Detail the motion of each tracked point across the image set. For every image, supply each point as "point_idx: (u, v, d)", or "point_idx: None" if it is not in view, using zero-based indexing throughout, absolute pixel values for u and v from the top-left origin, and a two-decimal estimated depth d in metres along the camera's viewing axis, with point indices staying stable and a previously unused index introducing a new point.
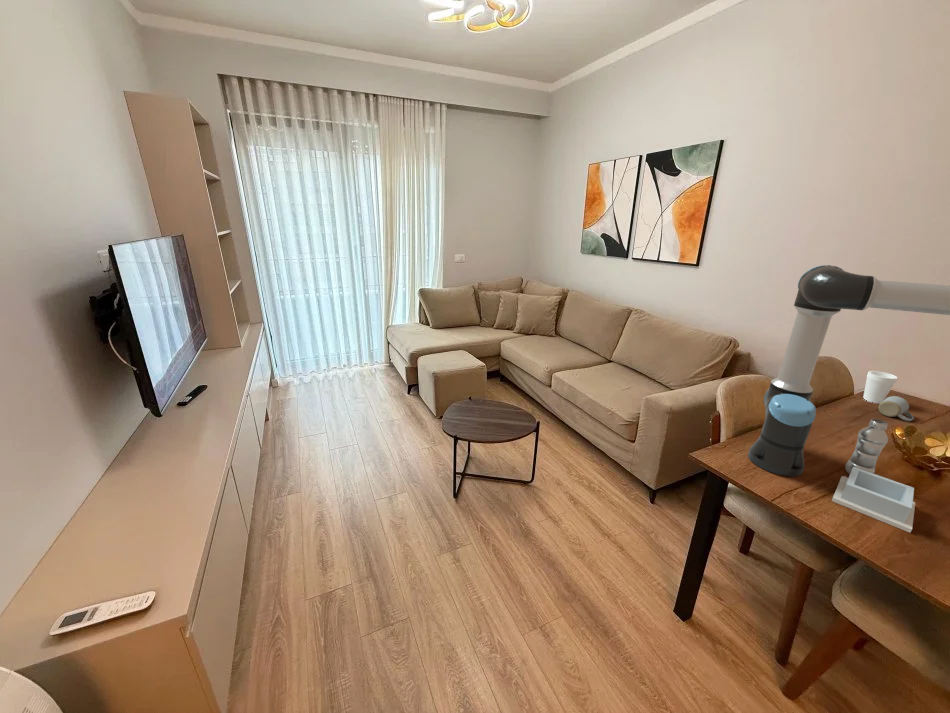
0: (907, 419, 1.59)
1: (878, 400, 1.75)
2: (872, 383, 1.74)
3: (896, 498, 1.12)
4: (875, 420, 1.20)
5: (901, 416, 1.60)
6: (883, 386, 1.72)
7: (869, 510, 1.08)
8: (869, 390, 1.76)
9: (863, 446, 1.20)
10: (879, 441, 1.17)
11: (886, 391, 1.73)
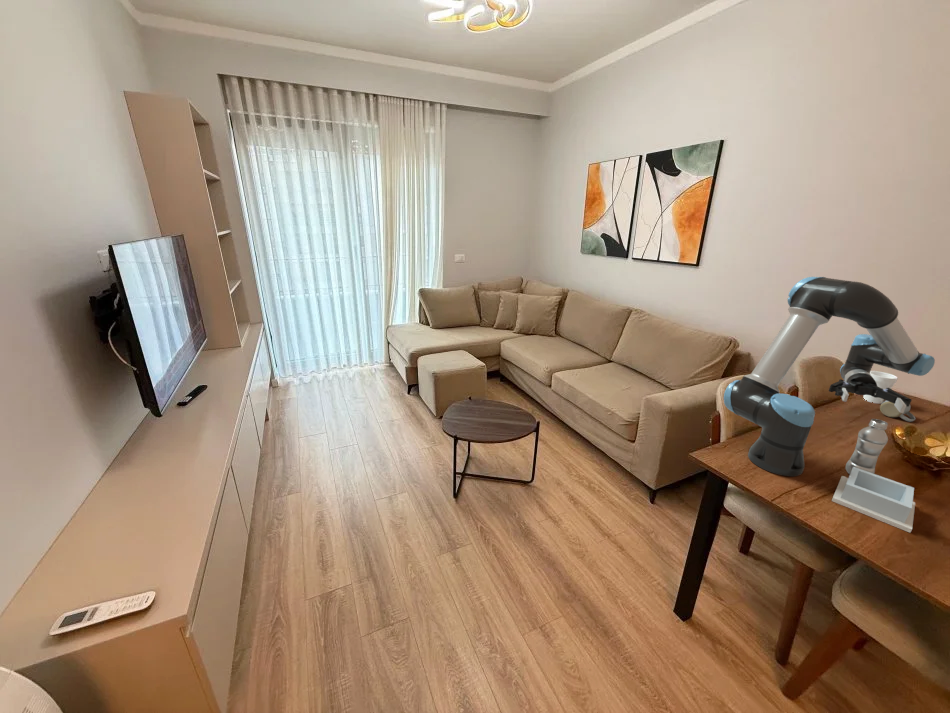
0: (909, 420, 1.59)
1: (878, 400, 1.75)
2: None
3: (896, 498, 1.12)
4: (875, 420, 1.20)
5: (903, 417, 1.60)
6: (883, 386, 1.72)
7: (869, 510, 1.08)
8: None
9: (863, 446, 1.20)
10: (879, 441, 1.17)
11: None
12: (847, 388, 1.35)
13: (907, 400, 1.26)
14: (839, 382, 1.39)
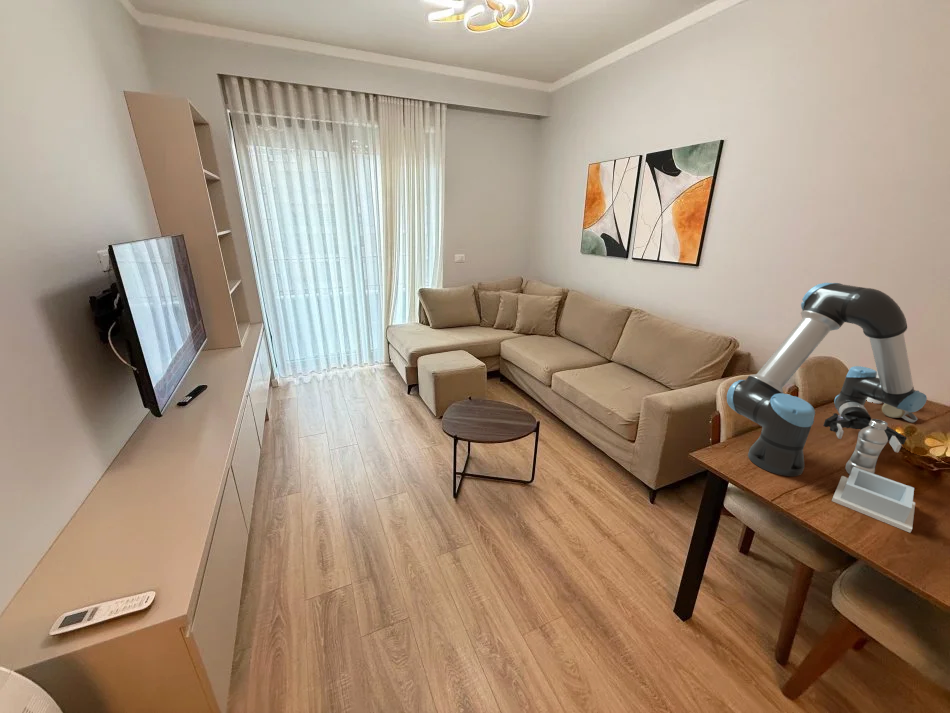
0: (911, 420, 1.58)
1: None
2: None
3: (896, 498, 1.12)
4: (875, 420, 1.20)
5: (905, 417, 1.59)
6: None
7: (869, 510, 1.08)
8: None
9: (863, 446, 1.20)
10: (879, 441, 1.17)
11: None
12: (842, 423, 1.34)
13: (902, 438, 1.25)
14: (834, 416, 1.37)
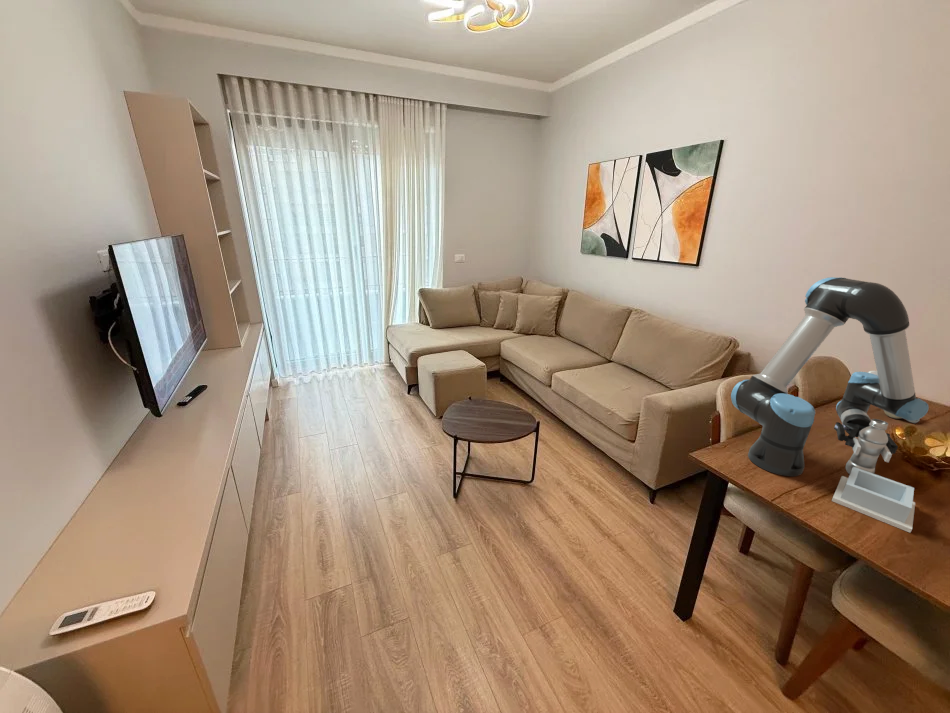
0: (913, 421, 1.58)
1: None
2: None
3: (896, 498, 1.12)
4: (875, 420, 1.20)
5: None
6: None
7: (869, 510, 1.08)
8: None
9: (864, 446, 1.20)
10: (880, 441, 1.17)
11: None
12: (854, 435, 1.26)
13: (893, 447, 1.19)
14: (841, 427, 1.30)
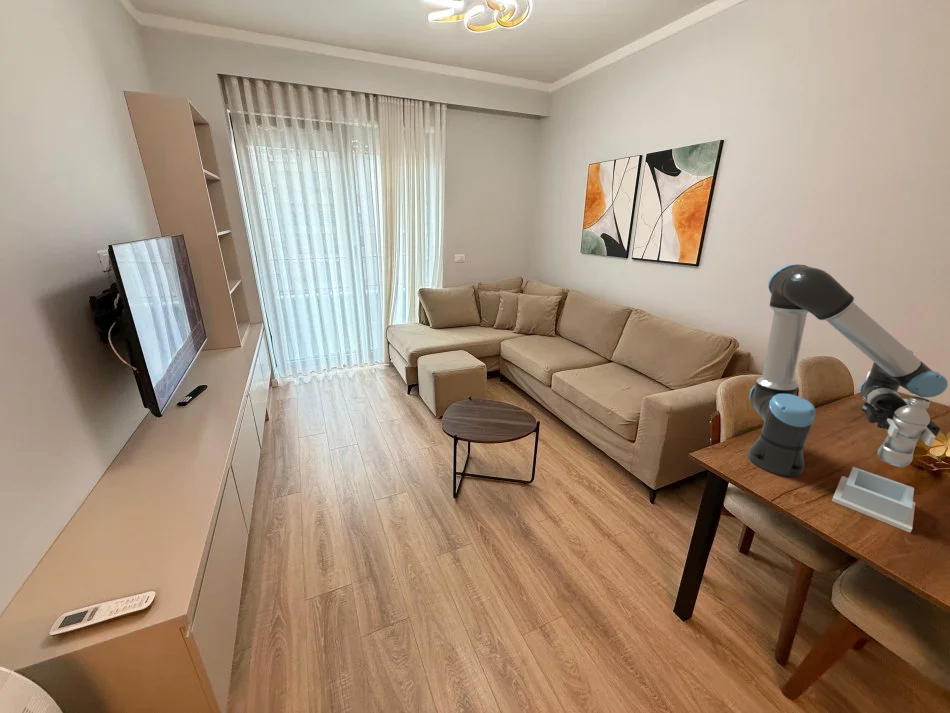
0: None
1: None
2: None
3: (896, 498, 1.12)
4: (915, 398, 1.03)
5: None
6: None
7: (869, 510, 1.08)
8: None
9: (901, 428, 1.03)
10: (921, 421, 1.00)
11: None
12: (887, 417, 1.09)
13: (935, 429, 1.03)
14: (871, 408, 1.13)
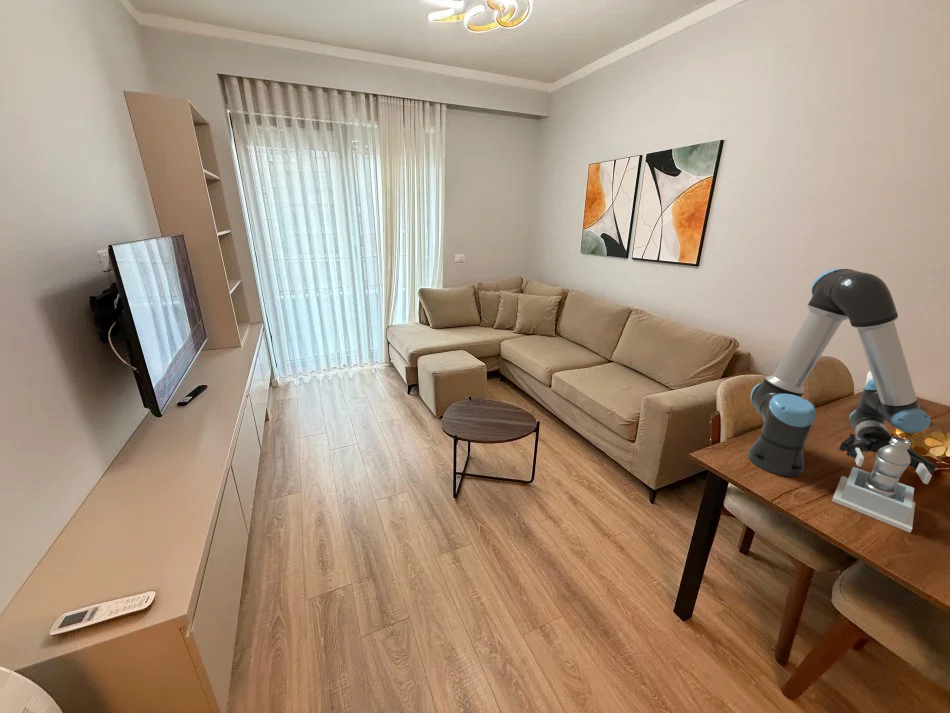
0: None
1: None
2: None
3: (896, 498, 1.12)
4: (896, 438, 1.07)
5: None
6: None
7: (869, 510, 1.08)
8: None
9: (883, 467, 1.08)
10: (902, 462, 1.05)
11: None
12: (861, 447, 1.15)
13: (931, 466, 1.06)
14: (851, 438, 1.18)
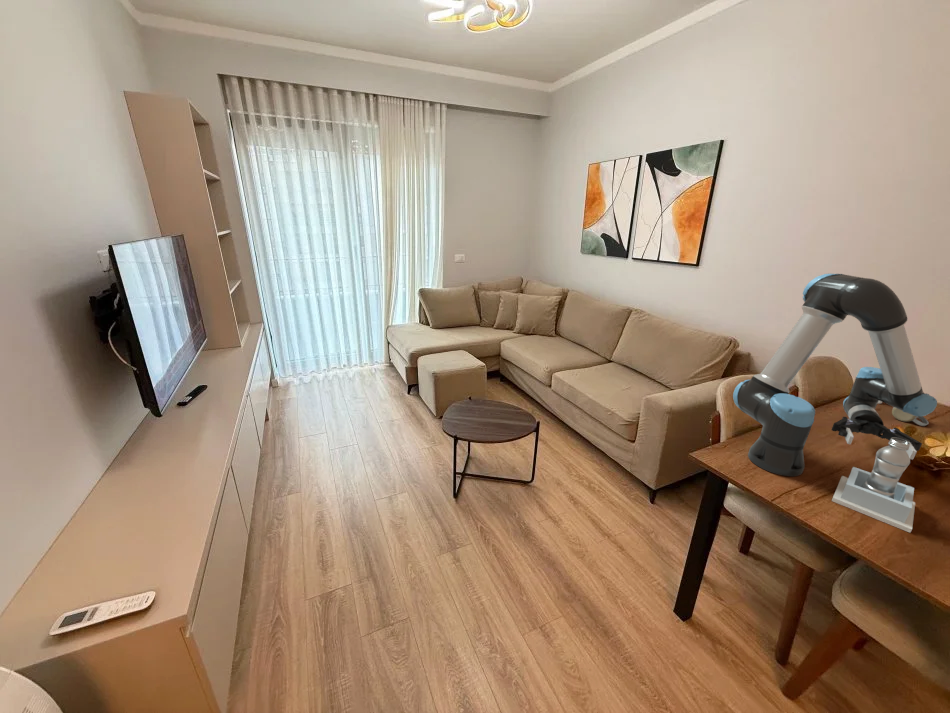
0: (922, 424, 1.56)
1: None
2: None
3: (896, 498, 1.12)
4: (895, 439, 1.07)
5: (916, 421, 1.56)
6: None
7: (869, 510, 1.08)
8: None
9: (882, 468, 1.08)
10: (901, 463, 1.04)
11: None
12: (851, 428, 1.25)
13: (917, 444, 1.16)
14: (843, 420, 1.29)
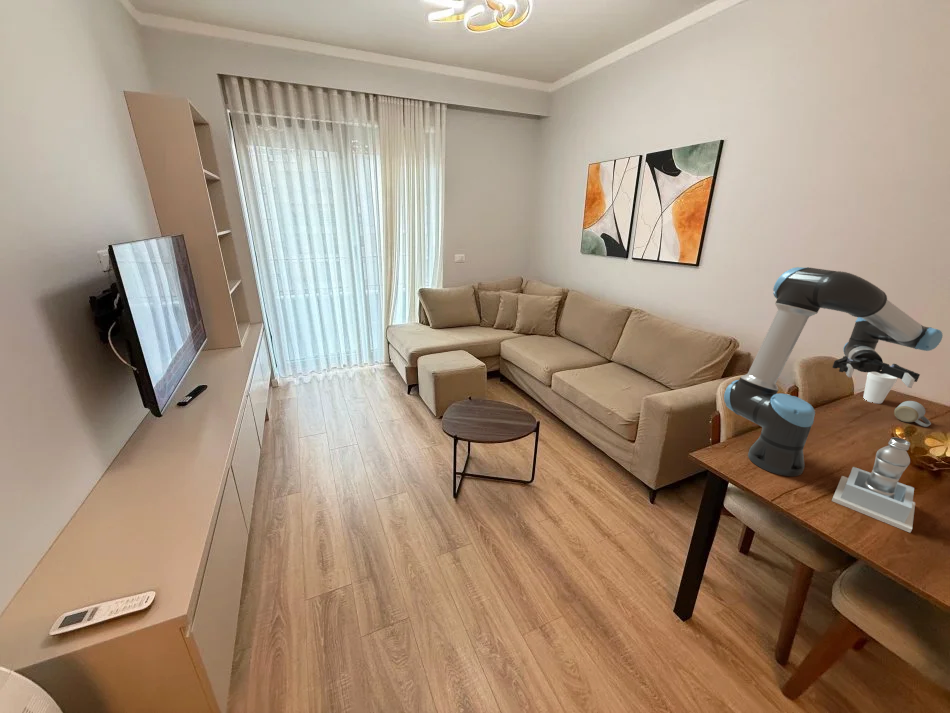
0: (924, 425, 1.55)
1: (878, 400, 1.75)
2: (872, 383, 1.75)
3: (896, 498, 1.12)
4: (895, 439, 1.07)
5: (918, 422, 1.56)
6: (883, 386, 1.72)
7: (869, 510, 1.08)
8: (869, 390, 1.76)
9: (882, 468, 1.08)
10: (901, 463, 1.04)
11: (886, 391, 1.73)
12: (852, 364, 1.29)
13: (915, 375, 1.20)
14: (843, 358, 1.33)
